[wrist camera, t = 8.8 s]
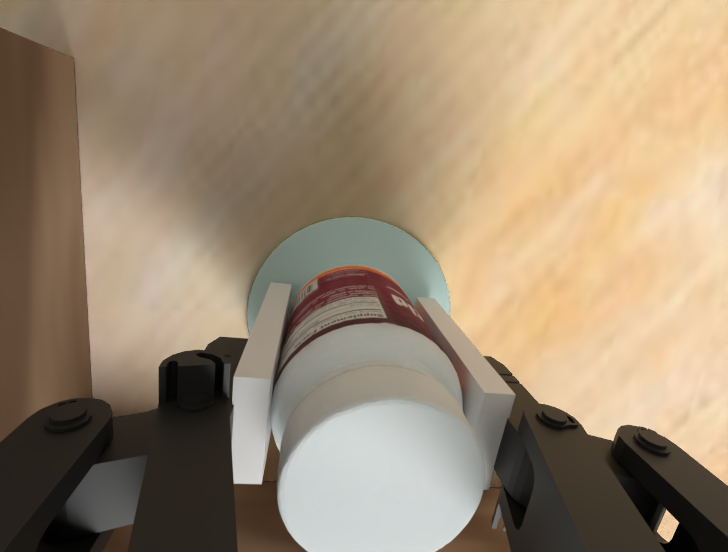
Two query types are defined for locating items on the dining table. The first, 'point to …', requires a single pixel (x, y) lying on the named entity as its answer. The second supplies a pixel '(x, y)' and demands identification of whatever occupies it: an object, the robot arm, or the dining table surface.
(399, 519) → the pill bottle
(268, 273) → the disc
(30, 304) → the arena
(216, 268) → the dining table surface
